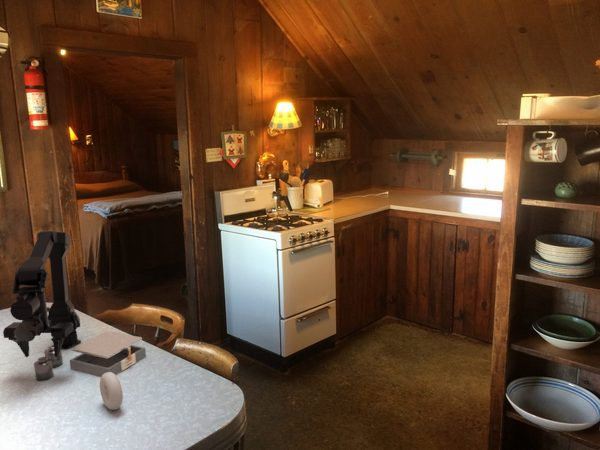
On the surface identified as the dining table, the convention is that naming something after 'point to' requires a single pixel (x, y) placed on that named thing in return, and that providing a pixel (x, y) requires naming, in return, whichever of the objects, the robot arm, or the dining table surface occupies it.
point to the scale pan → (107, 344)
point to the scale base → (82, 365)
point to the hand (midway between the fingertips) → (42, 356)
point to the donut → (111, 390)
